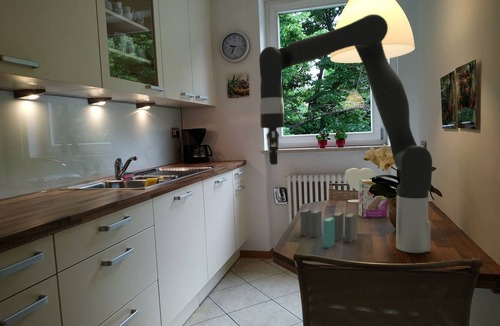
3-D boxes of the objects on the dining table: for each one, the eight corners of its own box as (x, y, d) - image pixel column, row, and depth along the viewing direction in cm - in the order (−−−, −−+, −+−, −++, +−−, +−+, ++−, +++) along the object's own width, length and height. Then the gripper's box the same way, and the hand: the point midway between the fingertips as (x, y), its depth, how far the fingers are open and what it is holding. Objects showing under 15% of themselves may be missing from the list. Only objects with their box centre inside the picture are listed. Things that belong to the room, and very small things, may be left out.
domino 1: (300, 235, 135) (300, 211, 134) (306, 232, 139) (306, 208, 138) (305, 236, 134) (305, 212, 133) (311, 232, 138) (311, 209, 137)
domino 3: (323, 247, 120) (323, 220, 120) (329, 243, 125) (328, 217, 124) (329, 248, 119) (329, 221, 119) (334, 243, 123) (334, 218, 123)
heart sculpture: (374, 200, 198) (374, 167, 196) (375, 202, 193) (375, 168, 191) (345, 200, 201) (345, 167, 199) (345, 201, 196) (345, 168, 194)
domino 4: (333, 240, 128) (333, 215, 127) (338, 236, 132) (338, 212, 131) (338, 240, 127) (338, 215, 126) (343, 237, 131) (343, 212, 130)
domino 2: (311, 236, 132) (311, 212, 132) (316, 233, 137) (316, 210, 136) (316, 237, 131) (316, 213, 131) (321, 234, 136) (321, 210, 135)
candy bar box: (362, 218, 158) (362, 181, 157) (358, 215, 163) (358, 179, 162) (387, 217, 159) (387, 180, 157) (382, 214, 164) (383, 179, 162)
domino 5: (344, 241, 126) (344, 216, 125) (349, 238, 130) (349, 213, 129) (350, 242, 124) (350, 216, 124) (355, 239, 129) (355, 214, 128)
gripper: (285, 111, 108) (286, 165, 110) (282, 113, 122) (283, 161, 124) (260, 111, 108) (261, 165, 110) (260, 114, 123) (261, 162, 124)
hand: (273, 163), depth 117 cm, fingers open, 8 cm apart
